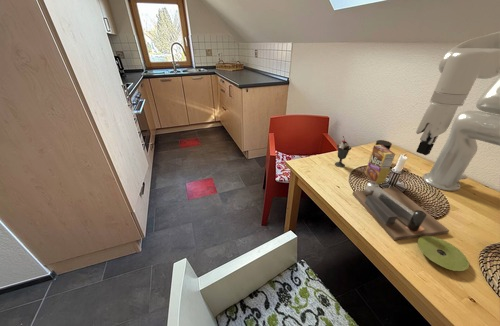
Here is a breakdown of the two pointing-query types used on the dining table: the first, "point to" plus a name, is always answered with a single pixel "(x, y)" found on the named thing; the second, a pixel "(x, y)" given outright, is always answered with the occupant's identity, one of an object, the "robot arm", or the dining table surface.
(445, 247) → the green disc
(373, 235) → the dining table surface
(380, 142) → the supplement container
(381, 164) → the candy box
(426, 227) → the nutcracker bench
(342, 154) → the sundae
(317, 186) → the dining table surface
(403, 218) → the lever
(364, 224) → the dining table surface
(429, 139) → the robot arm
